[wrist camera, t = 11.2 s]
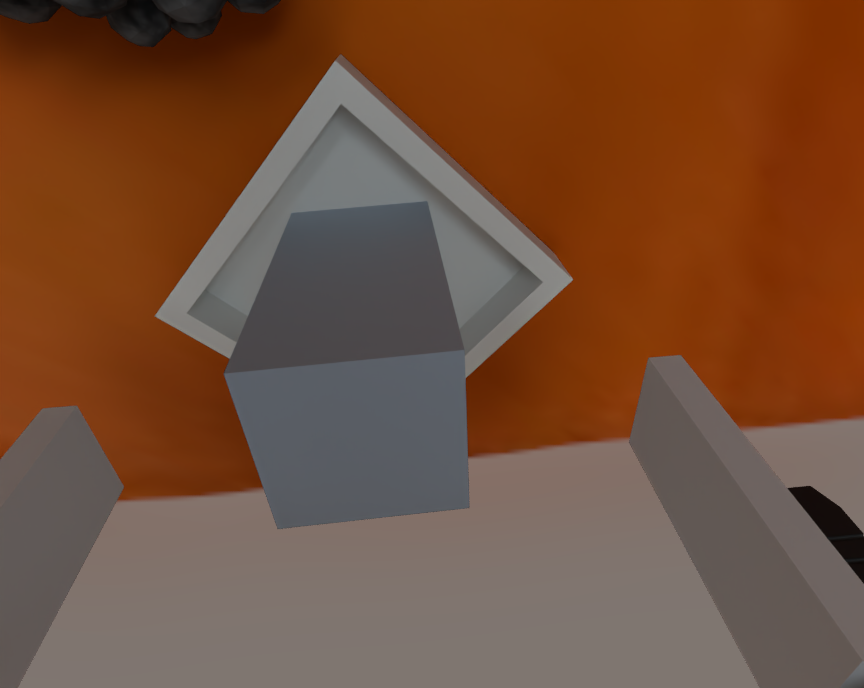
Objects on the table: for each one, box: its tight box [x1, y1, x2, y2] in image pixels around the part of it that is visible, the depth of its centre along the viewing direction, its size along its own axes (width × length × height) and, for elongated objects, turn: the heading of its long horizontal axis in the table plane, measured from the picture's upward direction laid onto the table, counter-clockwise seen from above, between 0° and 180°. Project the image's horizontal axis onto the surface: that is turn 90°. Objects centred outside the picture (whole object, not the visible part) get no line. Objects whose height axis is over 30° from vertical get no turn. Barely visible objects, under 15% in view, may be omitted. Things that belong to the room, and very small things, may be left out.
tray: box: [155, 54, 573, 378], centre depth 20 cm, size 11×11×2 cm
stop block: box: [224, 201, 469, 529], centre depth 16 cm, size 5×5×10 cm
